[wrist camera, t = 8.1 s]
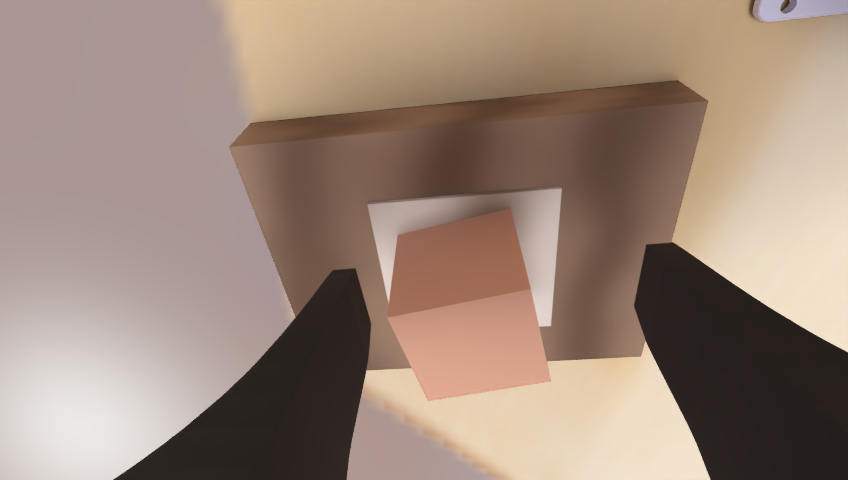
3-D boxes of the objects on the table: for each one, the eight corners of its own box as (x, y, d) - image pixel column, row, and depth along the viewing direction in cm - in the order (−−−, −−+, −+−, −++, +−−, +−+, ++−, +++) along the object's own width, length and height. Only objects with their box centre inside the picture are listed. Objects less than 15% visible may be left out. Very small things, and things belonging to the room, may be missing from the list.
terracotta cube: (510, 208, 19) (530, 288, 15) (529, 293, 21) (551, 381, 17) (397, 234, 20) (387, 317, 16) (429, 313, 22) (428, 400, 18)
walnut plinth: (677, 80, 18) (710, 102, 16) (625, 322, 26) (642, 359, 24) (250, 123, 20) (227, 149, 17) (326, 339, 28) (316, 375, 26)
